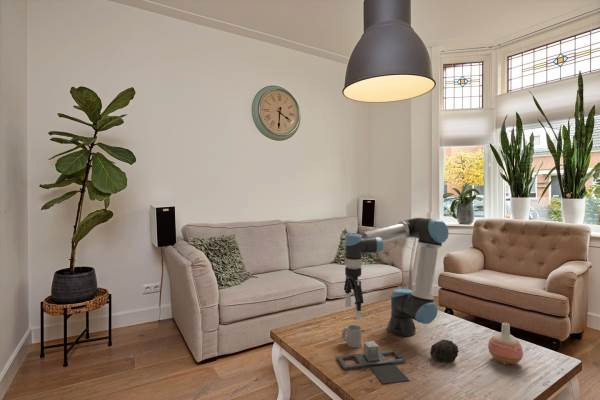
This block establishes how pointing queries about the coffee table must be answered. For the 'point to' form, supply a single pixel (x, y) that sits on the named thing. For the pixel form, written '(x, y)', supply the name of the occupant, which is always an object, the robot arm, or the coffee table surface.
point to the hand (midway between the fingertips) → (352, 311)
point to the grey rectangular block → (371, 351)
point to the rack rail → (363, 364)
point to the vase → (505, 346)
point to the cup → (352, 336)
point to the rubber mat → (389, 374)
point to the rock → (444, 351)
